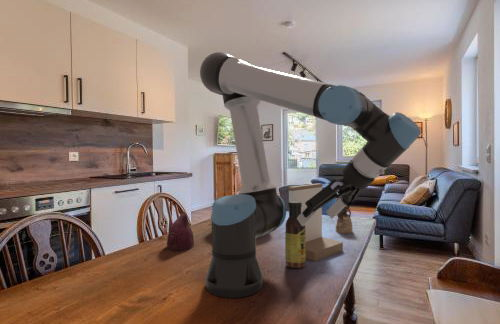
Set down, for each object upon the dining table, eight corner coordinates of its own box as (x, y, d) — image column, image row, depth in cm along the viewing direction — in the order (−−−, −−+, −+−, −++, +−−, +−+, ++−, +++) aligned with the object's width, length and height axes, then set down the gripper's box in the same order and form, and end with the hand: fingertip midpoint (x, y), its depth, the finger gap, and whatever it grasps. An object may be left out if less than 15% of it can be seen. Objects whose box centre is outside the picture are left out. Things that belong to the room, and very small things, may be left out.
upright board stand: (314, 261, 96) (313, 189, 95) (288, 253, 104) (288, 187, 103) (343, 250, 106) (343, 185, 106) (318, 243, 115) (317, 183, 114)
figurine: (337, 228, 137) (337, 202, 136) (353, 230, 134) (353, 203, 133) (334, 232, 130) (334, 205, 130) (351, 234, 127) (351, 206, 127)
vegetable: (197, 254, 113) (207, 217, 112) (174, 258, 106) (184, 218, 104) (183, 242, 120) (191, 207, 119) (160, 244, 113) (169, 207, 111)
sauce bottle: (305, 270, 89) (305, 204, 88) (284, 268, 90) (284, 203, 90) (305, 262, 95) (305, 200, 95) (286, 261, 97) (285, 200, 96)
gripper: (345, 183, 65) (293, 237, 77) (396, 176, 81) (347, 222, 93) (324, 159, 69) (278, 213, 81) (378, 157, 85) (333, 203, 97)
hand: (315, 218), depth 87 cm, fingers open, 13 cm apart
